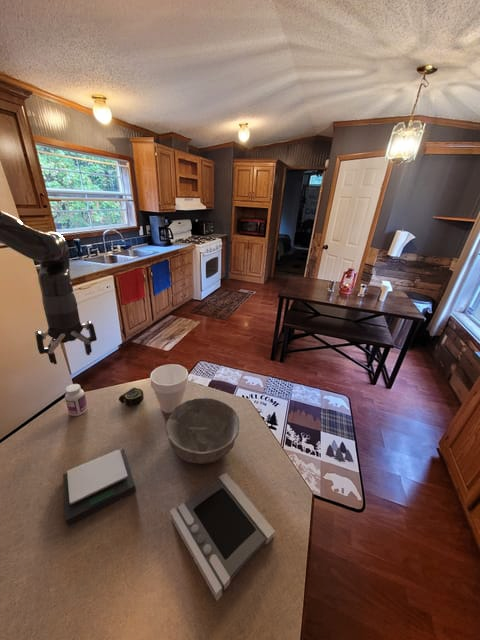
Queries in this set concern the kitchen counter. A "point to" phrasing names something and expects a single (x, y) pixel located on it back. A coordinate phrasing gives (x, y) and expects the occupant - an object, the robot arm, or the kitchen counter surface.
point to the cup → (169, 385)
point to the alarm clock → (221, 531)
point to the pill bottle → (75, 400)
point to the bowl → (202, 430)
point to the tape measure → (132, 397)
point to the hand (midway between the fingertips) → (72, 358)
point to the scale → (96, 485)
